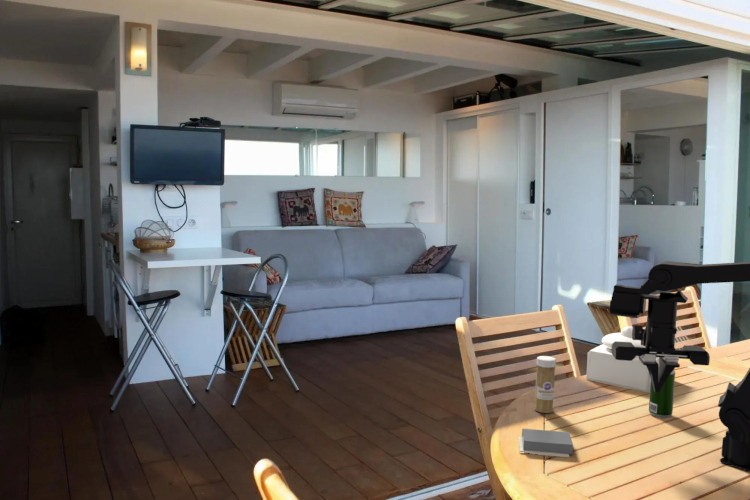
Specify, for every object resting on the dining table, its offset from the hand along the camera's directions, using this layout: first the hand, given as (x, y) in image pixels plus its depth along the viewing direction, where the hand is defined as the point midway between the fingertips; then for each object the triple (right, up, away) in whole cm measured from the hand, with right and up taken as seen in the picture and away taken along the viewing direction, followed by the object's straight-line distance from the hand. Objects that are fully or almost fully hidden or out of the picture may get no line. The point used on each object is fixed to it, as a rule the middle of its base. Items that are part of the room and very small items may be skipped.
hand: (656, 392), depth 146 cm
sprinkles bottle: (-19, -9, +22) cm, 30 cm away
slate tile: (-19, -10, -2) cm, 22 cm away
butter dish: (+12, -7, +50) cm, 52 cm away
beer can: (+10, -10, +21) cm, 25 cm away
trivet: (-25, -12, -1) cm, 27 cm away
